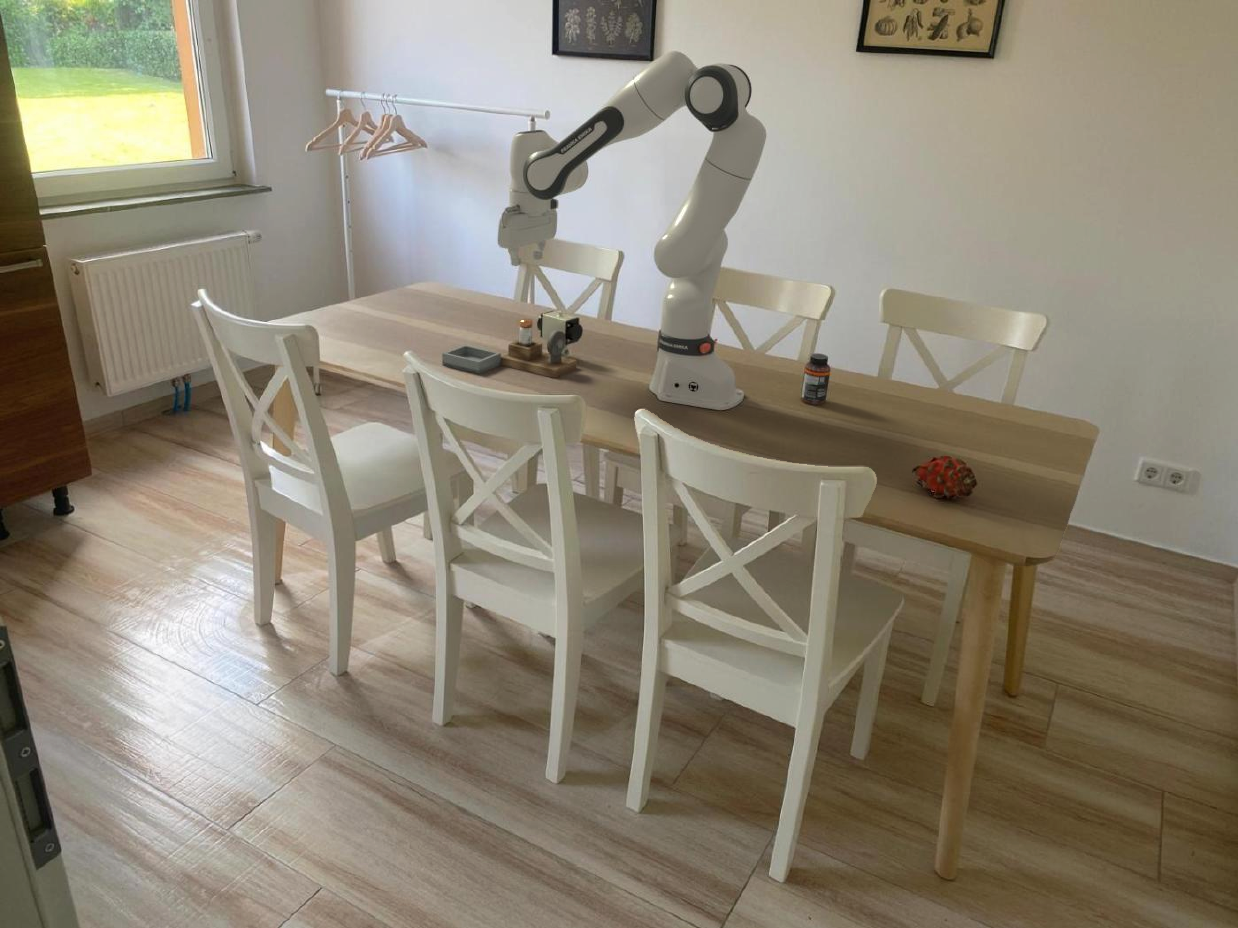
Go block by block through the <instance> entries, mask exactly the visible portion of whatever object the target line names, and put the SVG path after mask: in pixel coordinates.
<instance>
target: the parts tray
mask: <svg viewBox="0 0 1238 928" xmlns="http://www.w3.org/2000/svg"><path fill="white" fill-rule="evenodd" d="M441 354H442V355H441V356H442V359H441V361H442V362H441V363H442V365H443V366H446V367H449V368H454V369H457V370H461V371H466V372H468V373H469V372H470V373H474V374H477V375H480V374H483V373H484V372H487V371H490V370H492V369H494V368H497V367H498V366H502V365H501V357H502V355H501V354H502V353H501V352H497V351H492V350H489V349H484V348H481V347H476V346H472V345H467V344H463V345H460V346H458V347H456V348H452V349H451V350H447V351H445V352H442V353H441Z"/></svg>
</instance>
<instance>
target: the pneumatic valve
mask: <svg viewBox="0 0 1238 928" xmlns="http://www.w3.org/2000/svg"><path fill="white" fill-rule="evenodd" d="M538 317H539V318H538V320H537V321H536V327H537V329H538V331H539V334H540V336H539V337H540V338H542V339H544V340H545V339H546V340H548V338H549V336H550V334H551V332H553V331H554V330H557V331H561V332H563V333H564V334H565V337H566V343H565V347H564V350H563V352H562V357H566V358H569V355H570V349H569V345H570V344H571V345H572V344H575V343H578V342H579V340H580V339H581V338H582V336H583V326H582V325H581V324H580V323H581V322H580V318H579V316H578V317H577V316H573V315H572V314H567V313H563V311H560V310H558V311H554V310H551V311H545V312H543V313H542V312H541V313H540V315H539V316H538Z"/></svg>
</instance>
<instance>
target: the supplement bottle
mask: <svg viewBox="0 0 1238 928" xmlns="http://www.w3.org/2000/svg"><path fill="white" fill-rule="evenodd" d="M828 359H829V356H828V355H826V354H823V353H812V354H811V355H810V358H809V362H806V364H805V366H804V372H803V378H802V384H801V392H800V400H801V401H802V402H803V403H804V404H808V405H812V406H813V405H814V406H820V405H823V404H825V403H826V400H827V397H828V396H827V395H828V387H829V382H830V375H831V367H830V365H829V364H828Z"/></svg>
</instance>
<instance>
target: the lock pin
mask: <svg viewBox="0 0 1238 928" xmlns="http://www.w3.org/2000/svg"><path fill="white" fill-rule="evenodd" d="M518 321H519V325H518V326H519V329H518V330H519V332H518V333H519V334H518V335H519V336H518V340H519V346H524V347H530V346H532V341H533V320H532V318H531V319H530V318H520V319H519V320H518Z"/></svg>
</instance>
